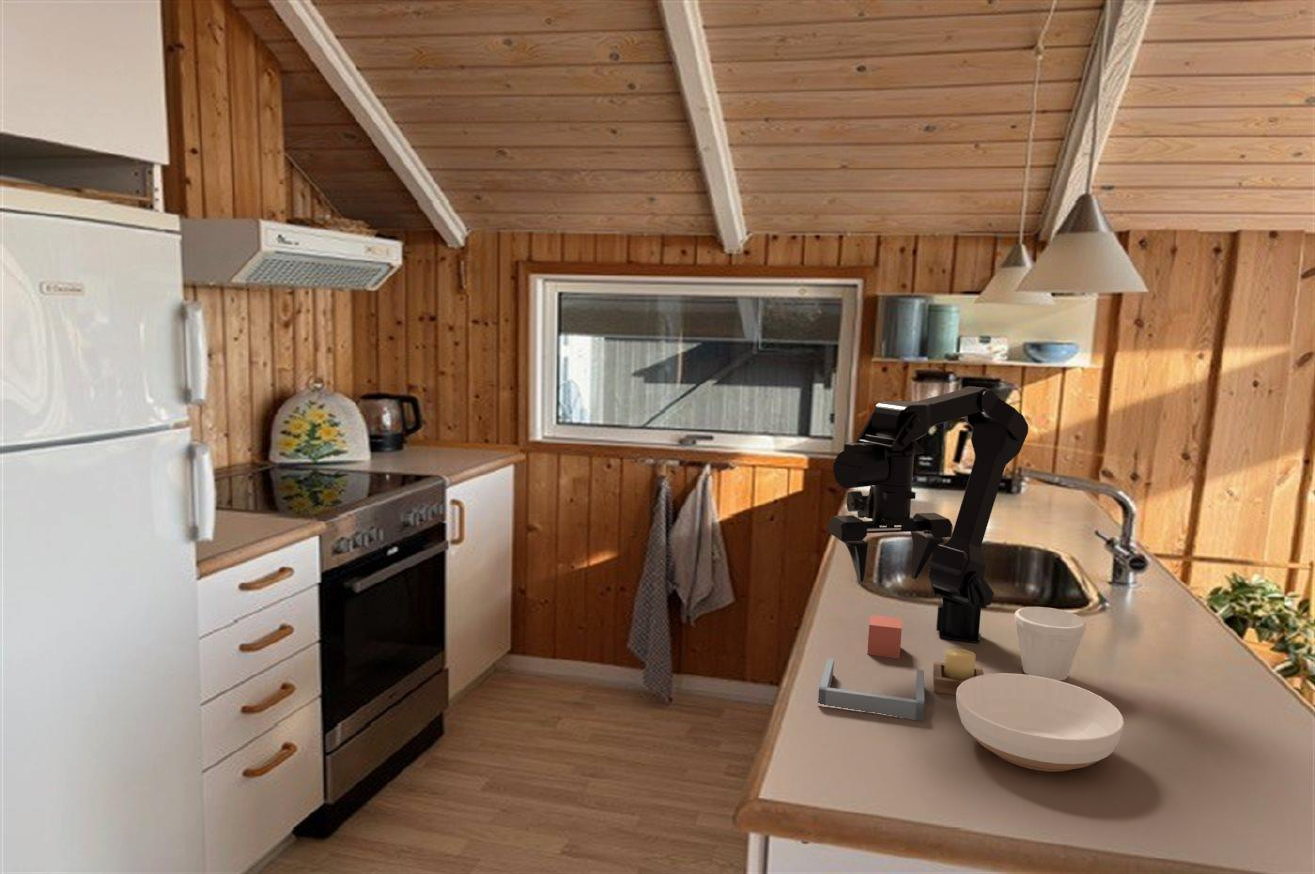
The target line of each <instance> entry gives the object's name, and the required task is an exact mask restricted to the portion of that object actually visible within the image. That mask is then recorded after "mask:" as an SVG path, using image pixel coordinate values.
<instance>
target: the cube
mask: <svg viewBox="0 0 1315 874" xmlns="http://www.w3.org/2000/svg"><path fill="white" fill-rule="evenodd" d="M869 617H870V618H869V625H868V637H867V640H868V642H867V655H869V654H870V655H871V656H877V655H878V657H885V658H886V657H887V658H893V659H900V658H901V655H900V654H901V644H902V630H903V628H902V627H903V618H901V617H893V616H891V617H890V616H883V615H873V614H870V616H869Z"/></svg>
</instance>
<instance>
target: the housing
mask: <svg viewBox="0 0 1315 874" xmlns="http://www.w3.org/2000/svg"><path fill="white" fill-rule="evenodd" d="M944 665H945V662H939V661H933V669H932V683H933V684H932V685H933V686H932V687H933V693H938V694H944V695H945V694H946V695H951V696H956V691H957V688H958V687H959V685H960V684H961V683H962V682H964V681H966V680H959V679H953V678H950V677H948V676H946V675H945V674H944ZM980 675H985V673H984V668H983V667H981V666H975V669H974V677H976V676H980Z"/></svg>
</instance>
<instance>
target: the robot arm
mask: <svg viewBox="0 0 1315 874" xmlns="http://www.w3.org/2000/svg"><path fill="white" fill-rule="evenodd" d="M962 418H964V421H965V422H966V424H967V425H969V427H970V428H971V429H972V432H971V438H970V442H971V445H972V448H973V452H974V461H973V464H972V468H971V471H970V474H969V478H968V479H967V484H966V487H965V489H964V490H965V491H964V494H963V497H962V501H961V504H960V506H959V510H958V514H957V517H956V520H955V523H954V526H953V523H952V522H951V520H950V518H947V517H945V516H943V515H941V514H939V513H937V512H921V513H915V514H914V515H913V517H911V507H912V500H916V495H917V492H915V491H914V490H913V474H914V473H913V472H914V459H915V455H918V454H919V455H920V454H924V452H925V449H924V448H923V447H922V446H921V445H920V444H919V443H918V442H917V440H918V439H920V438H923V436H926V435H928V433H929V431H930V429H932V428H933V427H934V426H937V425H942V424H944V423H948V422H951V421H952V422H953V421H956V420H958V419H959V420H960V419H962ZM1028 433H1029V424H1028V422H1027V420H1026V418H1025V417H1024V415H1023V414H1022V413H1021V412H1019V411H1018V410H1017V409H1016V408H1015V407H1014V406H1012V405H1010V403H1007V402H1005V401H1004V400H1002V399H1001V398H999V396H998V395H997V394H996V393H995V392H994V391H993V390H991V389H990V388H988V387H978V386H971V385H970V386H969V385H968V386H964V387H962V388H961V389H958V390H956V391H955V390H954V391H950V392H947V393H943V394H939V395H936V396H932V397H929V398H925V399H921V400H917V401H915V400H913V401H912V400H911V401H905V400H883V401H880V402H878V403H877V404H876V405H875V406H874V410H873V412H872V413H871V414H870V416H869V418H868V420H867V421H866V424H865V425H864V427H863V429H862V431H861V432H860V434H859V435H858V437H857V439H856V440H855V441H856V443H855V442H845V443H844V446H843V447H844V448H843V451H841V452H839V454H837V455H836V457H835V461H834V462H833V463H832V464H833V465H832V471H833V476H834V479H835V481H836V483H837V484H838V485H839V486H840V487H842V488H844V489H856V488H857V489H858V488H864V487H870V488H869V491H868V495H863V493H862V491H861V490H856V491H853V490H852V491H848V492H847V497H846V509H847V512H850V513H851V512H853V513H854V512H855V513H857V516H854V514H852V515H851V514H849V515H833V516H832V517H831V518H830V520H829V522H828V528H827V531H828V532H827V533H829V534H830V535H832V536H833V537H835V538H836V539H837V540H839V541H840V542H842V543H844V544H845V546H846V548H847V550H848V553H849V555H850V558H851V561H852V564H853V568H854V571H855V574H856V577H857V580H858V581H859V582H860V583H861V582H863V581H864V578H865V574H866V573H865V572H866V565H867V564H866V563H867V558H868V557H867V555H868V545H869V543H868V542H867V541H866V540H864V539H865V538H866V537H867V536H868V534H879V533H880V534H881V533H883V534H884V533H907V532H908V533H909V532H910V536H911V539H912V552H911V553H912V554H911V565H910V577H911V578H912V579H913V580H917V579H918V577H919V575H920V574H921V572H922V570H923V568H924V566H925V565H926V563H928V560H929V558H930V557H931V556H932V557H931V560H930V562H929V563H928V565H927V566H928V567H929V569H928V570H929V571H928V579H929V580H930V586H931V591H932V595H934V596H937V597H940V598H941V603H938V604H937V611H936V625H935V626H936V627H935V628H936V629H935V630H936V631H937V632H938V637H939V638H940V639H945V640H946V639H947V640H953V641H954V640H955V641H962V642H963V641H964V642H971V643H980V642H981V638H980V637H981V636H980V625H981V614H982V613H981V612H982V609H987V606H991V604H992V602H993V598H994V595H995V593H994V591H993V589H992V588H991V587H990V585H989V583H988V582H987V581H986V580H985V578H984V576H985V571H986V561H985V558H984V554H983V551H982V544H983V541H984V538H985V534H986V531H987V527H988V524H989V521H990V518H991V515H992V513H993V512H992V511H993V508H994V504H995V502H996V498H997V496H998V491H999V489H1000V488H999V487H1000V486H1001V481H1002V479H1003V475H1004V471H1005V467H1006V466H1007V465H1008V463H1010V462H1011V461H1012V460H1013V459H1015V457H1017V456H1018V455H1019V454H1020V452H1021V451H1022V448H1023V446H1024V443H1025V441H1026V439H1027V436H1028ZM864 518H866V519H871V520H862V519H864ZM945 538H947V539H948V538H949V539H948V540H947V541H946V542H945ZM943 543H944V544H943ZM942 544H943V545H942Z"/></svg>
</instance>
